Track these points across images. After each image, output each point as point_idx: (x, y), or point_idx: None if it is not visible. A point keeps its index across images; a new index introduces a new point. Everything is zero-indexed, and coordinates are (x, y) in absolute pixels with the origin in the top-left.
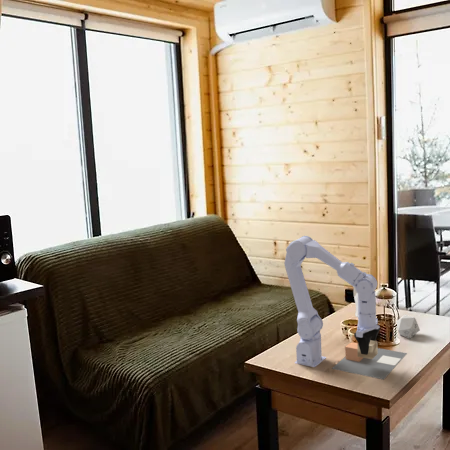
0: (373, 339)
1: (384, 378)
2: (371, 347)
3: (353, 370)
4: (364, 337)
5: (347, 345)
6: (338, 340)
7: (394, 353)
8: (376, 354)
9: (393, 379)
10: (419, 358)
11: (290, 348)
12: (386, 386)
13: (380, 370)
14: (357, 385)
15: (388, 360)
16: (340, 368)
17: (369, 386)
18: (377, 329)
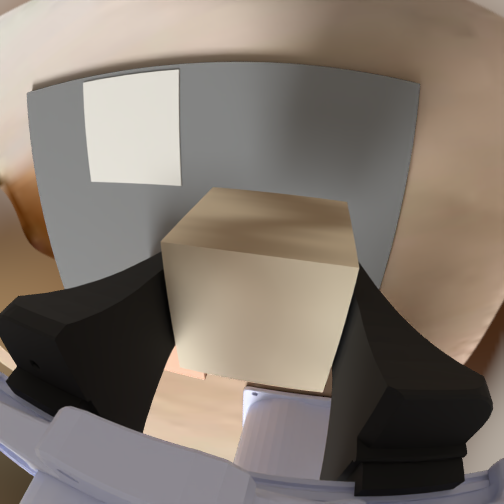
0: (156, 291)
1: (405, 81)
2: (355, 264)
3: None
4: (462, 437)
5: (180, 372)
6: None
7: (49, 140)
8: (238, 191)
9: (370, 31)
10: (44, 27)
11: (221, 449)
12: (475, 64)
13: (292, 128)
14: (498, 217)
15: (131, 130)
16: None
17: (499, 156)
18: (60, 348)
